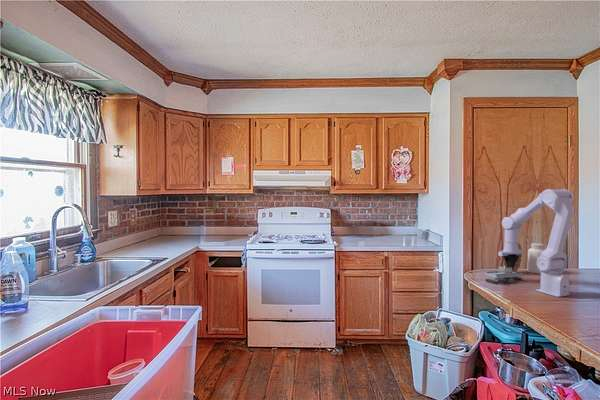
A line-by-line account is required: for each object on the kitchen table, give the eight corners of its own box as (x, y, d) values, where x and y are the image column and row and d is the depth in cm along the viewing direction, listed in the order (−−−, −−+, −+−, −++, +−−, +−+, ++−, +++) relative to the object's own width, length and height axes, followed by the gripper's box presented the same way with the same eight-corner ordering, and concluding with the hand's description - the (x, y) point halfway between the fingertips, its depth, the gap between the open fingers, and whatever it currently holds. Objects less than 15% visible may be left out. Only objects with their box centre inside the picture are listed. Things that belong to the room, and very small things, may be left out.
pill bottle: (545, 274, 175) (546, 245, 175) (526, 272, 180) (527, 244, 179) (545, 271, 182) (546, 243, 181) (527, 269, 186) (528, 242, 186)
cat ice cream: (525, 275, 174) (526, 240, 173) (509, 275, 174) (510, 240, 174) (515, 270, 183) (515, 237, 182) (500, 270, 183) (501, 237, 182)
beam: (523, 276, 164) (523, 272, 164) (496, 277, 157) (496, 274, 157) (511, 273, 169) (511, 269, 169) (484, 274, 163) (485, 271, 163)
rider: (511, 274, 163) (512, 266, 163) (504, 274, 161) (504, 267, 161) (505, 272, 166) (505, 265, 166) (498, 272, 164) (498, 265, 164)
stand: (524, 280, 163) (524, 276, 163) (497, 284, 157) (497, 279, 157) (510, 277, 170) (510, 272, 170) (483, 280, 163) (483, 275, 163)
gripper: (513, 239, 171) (513, 266, 171) (492, 241, 165) (492, 269, 166) (527, 242, 164) (526, 270, 165) (506, 243, 159) (505, 272, 159)
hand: (510, 269), depth 165 cm, fingers closed
